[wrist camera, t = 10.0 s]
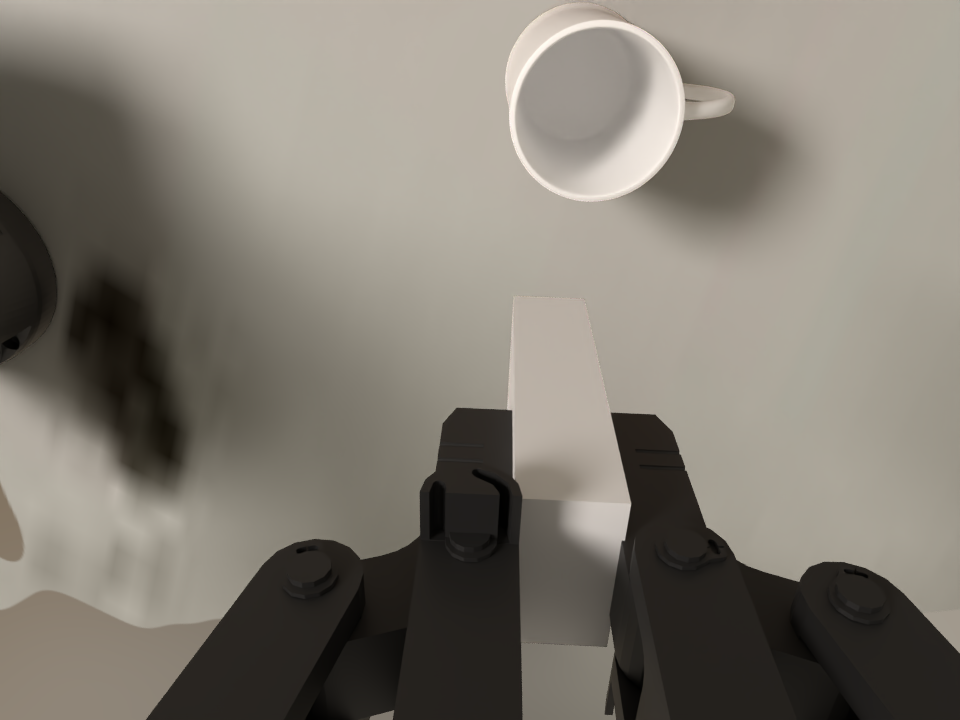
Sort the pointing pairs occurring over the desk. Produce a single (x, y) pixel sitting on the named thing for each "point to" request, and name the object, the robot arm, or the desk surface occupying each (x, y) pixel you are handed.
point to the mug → (598, 102)
